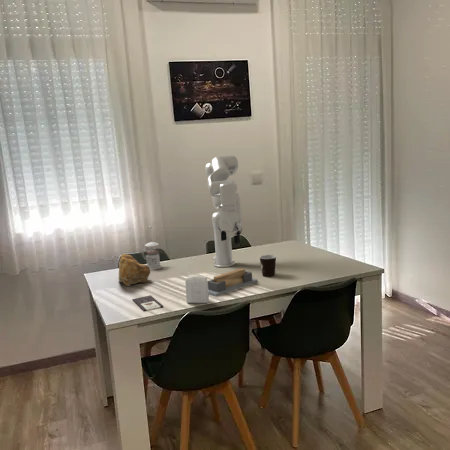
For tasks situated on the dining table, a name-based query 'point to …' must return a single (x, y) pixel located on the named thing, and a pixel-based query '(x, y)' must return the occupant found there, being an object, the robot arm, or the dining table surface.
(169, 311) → the dining table surface
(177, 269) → the dining table surface
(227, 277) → the slat
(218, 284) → the endcap board
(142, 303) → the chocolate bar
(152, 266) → the french press
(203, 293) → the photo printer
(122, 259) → the rough brown rock
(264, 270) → the coffee mug
